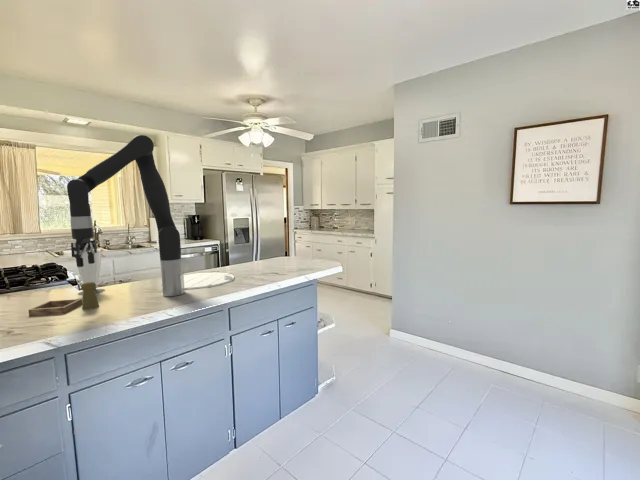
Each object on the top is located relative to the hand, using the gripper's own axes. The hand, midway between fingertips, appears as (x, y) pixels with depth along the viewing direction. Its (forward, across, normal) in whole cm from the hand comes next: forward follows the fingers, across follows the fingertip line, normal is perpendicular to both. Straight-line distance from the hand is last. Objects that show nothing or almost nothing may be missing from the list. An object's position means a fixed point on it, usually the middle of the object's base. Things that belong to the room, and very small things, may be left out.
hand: (86, 265), depth 140 cm
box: (+18, -1, +12) cm, 22 cm away
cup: (+19, +29, +14) cm, 37 cm away
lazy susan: (+19, +42, -37) cm, 59 cm away
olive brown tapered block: (+19, -1, 0) cm, 19 cm away
